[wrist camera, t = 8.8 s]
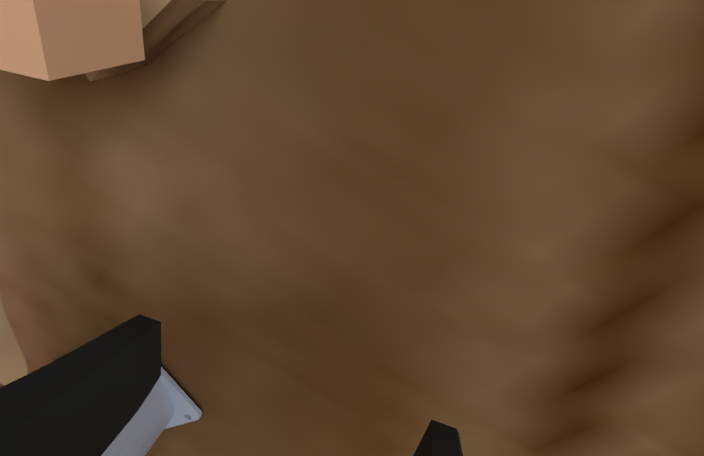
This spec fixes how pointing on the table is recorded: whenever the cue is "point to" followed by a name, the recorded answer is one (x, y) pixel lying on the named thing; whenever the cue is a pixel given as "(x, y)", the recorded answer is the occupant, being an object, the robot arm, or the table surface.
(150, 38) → the slab upper
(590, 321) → the table surface
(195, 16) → the slab lower
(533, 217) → the table surface
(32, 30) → the block
